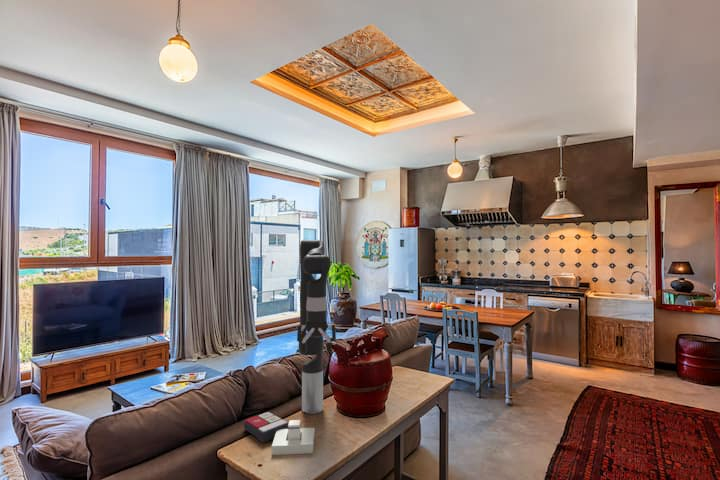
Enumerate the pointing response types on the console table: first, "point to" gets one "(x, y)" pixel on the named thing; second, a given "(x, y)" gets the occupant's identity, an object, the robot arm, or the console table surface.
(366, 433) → the console table surface
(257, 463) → the console table surface
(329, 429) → the console table surface
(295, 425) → the white rectangular block
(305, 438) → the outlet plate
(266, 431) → the dark grey product box
